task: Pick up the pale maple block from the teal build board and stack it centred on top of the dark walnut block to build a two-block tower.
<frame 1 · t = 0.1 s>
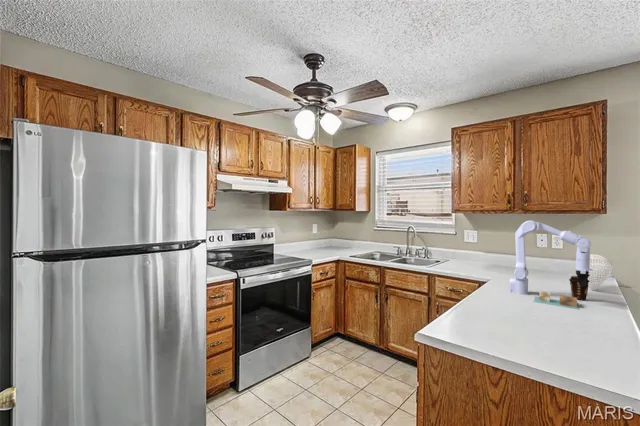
hand: (582, 285, 167), 10 cm above the worktop, tool pointing down, fingers open, 6 cm apart
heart: (593, 290, 198), on the worktop
build board: (555, 304, 166), on the worktop
walnut block: (568, 304, 163), point 1 cm above the worktop, touching build board
coffee cup: (579, 300, 174), on the worktop, touching gripper
maple block: (544, 300, 169), point 1 cm above the worktop, touching build board
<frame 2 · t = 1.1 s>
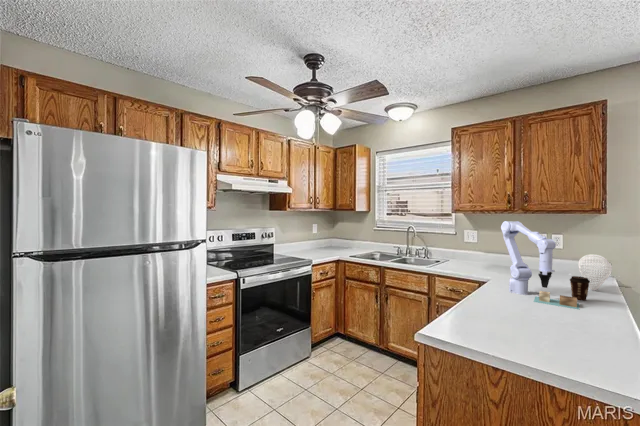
hand: (545, 286, 169), 9 cm above the worktop, tool pointing down, fingers open, 7 cm apart
coffee cup: (579, 300, 174), on the worktop
everything else where it was.
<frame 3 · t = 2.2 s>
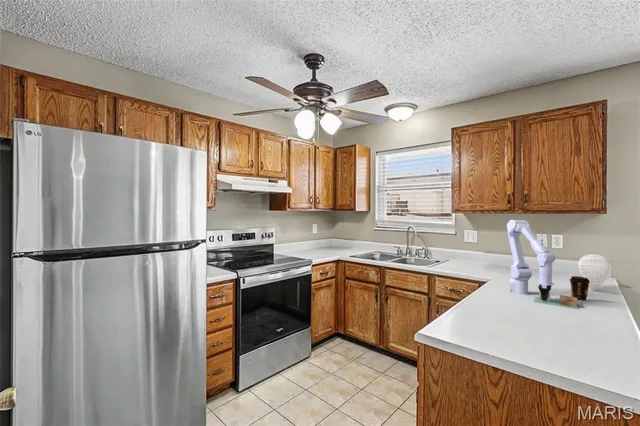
hand: (544, 299, 169), 2 cm above the worktop, tool pointing down, fingers closed on maple block, 4 cm apart
maple block: (544, 300, 169), point 1 cm above the worktop, touching build board, gripper
everything else where it was.
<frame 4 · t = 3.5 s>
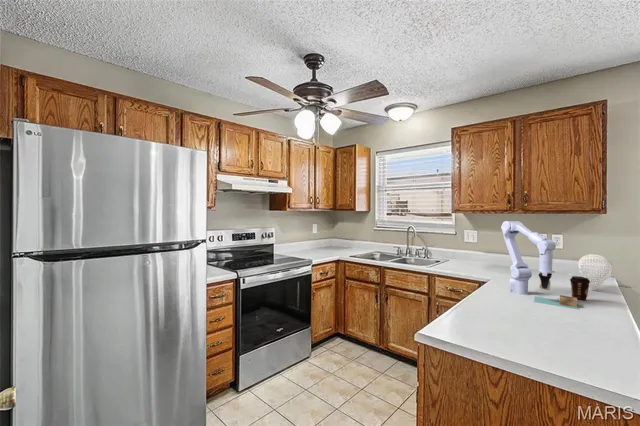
hand: (544, 287, 169), 8 cm above the worktop, tool pointing down, fingers closed on maple block, 4 cm apart
maple block: (544, 288, 169), point 7 cm above the worktop, touching gripper
everything else where it was.
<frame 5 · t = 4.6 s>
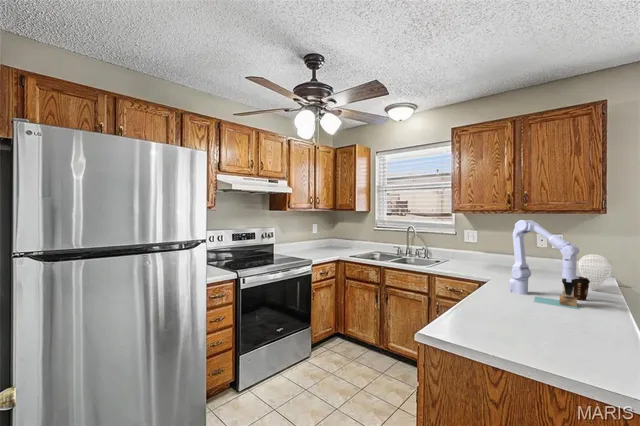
hand: (568, 293, 163), 6 cm above the worktop, tool pointing down, fingers closed on maple block, 4 cm apart
maple block: (567, 295, 163), point 6 cm above the worktop, touching gripper
everything else where it was.
when the fingers open (6 cm above the worktop, at t = 5.1 s): maple block stays where it is, resting on walnut block.
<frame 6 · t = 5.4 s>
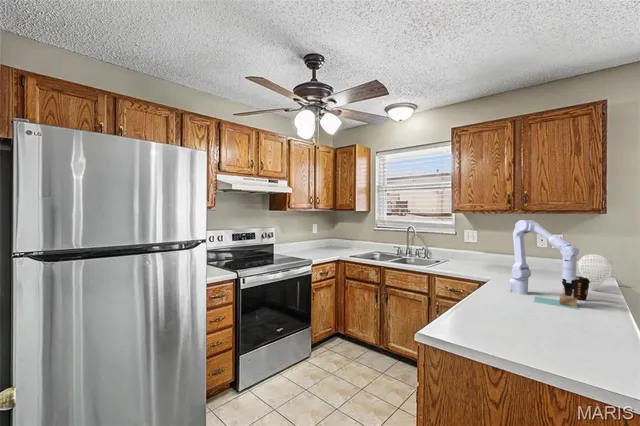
hand: (568, 294, 163), 6 cm above the worktop, tool pointing down, fingers open, 7 cm apart
walnut block: (568, 304, 163), point 1 cm above the worktop, touching build board, maple block
maple block: (567, 297, 163), point 4 cm above the worktop, touching walnut block
everything else where it was.
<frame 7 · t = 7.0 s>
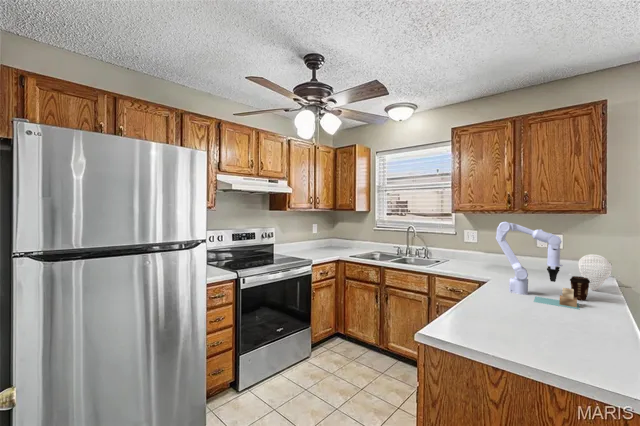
hand: (553, 280, 176), 10 cm above the worktop, tool pointing down, fingers open, 7 cm apart
nothing on the worktop moved.
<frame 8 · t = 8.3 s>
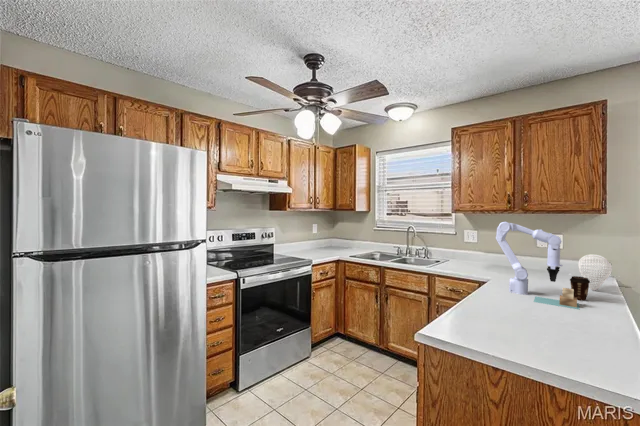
hand: (553, 280, 176), 10 cm above the worktop, tool pointing down, fingers open, 7 cm apart
nothing on the worktop moved.
at the end: maple block 0.2 cm off-centre on the walnut block, point 3.5 cm above the walnut block's base; maple block tilted 0°; walnut block moved 0.0 cm from its start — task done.
